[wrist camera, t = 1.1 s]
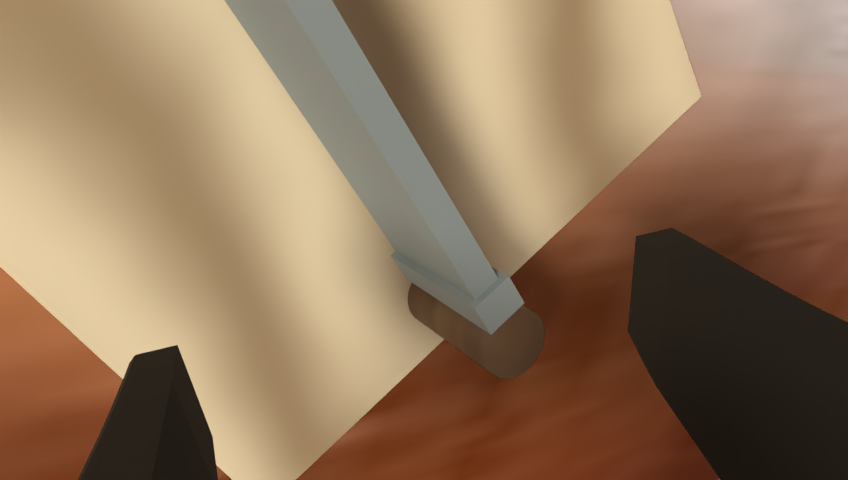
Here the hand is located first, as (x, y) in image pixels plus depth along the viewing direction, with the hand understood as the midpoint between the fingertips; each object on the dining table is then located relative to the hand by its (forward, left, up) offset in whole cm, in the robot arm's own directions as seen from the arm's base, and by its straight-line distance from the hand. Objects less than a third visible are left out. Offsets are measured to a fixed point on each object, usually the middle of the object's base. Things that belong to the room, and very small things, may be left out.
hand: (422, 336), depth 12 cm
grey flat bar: (+3, +1, -9) cm, 10 cm away
